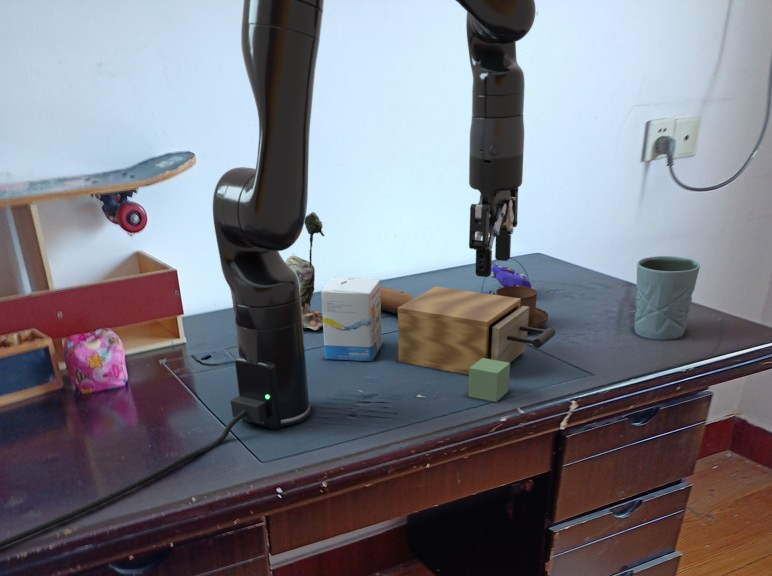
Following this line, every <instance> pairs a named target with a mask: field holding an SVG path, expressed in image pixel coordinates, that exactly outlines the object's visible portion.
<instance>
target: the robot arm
mask: <svg viewBox="0 0 772 576" xmlns="http://www.w3.org/2000/svg"><path fill="white" fill-rule="evenodd" d="M455 2H457V4H459V5H460V6H461V8H463V9H464V10H465V11H466V18H465V26H466V27H465V28H466V29H465V30H466V40H467V42H466V43H467V49H468V56H469V58H468V59H469V63H470V69H471V76H472V85H471V122H470V128H469V149H468V150H469V151H468V152H469V154H468V157H469V158H468V159H469V160H468V162H469V163H468V164H469V165H468V166H469V167H468V185H469V187H470V188H471V189H473V190H476V191H478V192H479V193H480V195H479V200H478V203H471V204H470V208H469V233H468V235H469V236H468V237H469V238H468V247H469V249H470V250H475V275H476V276H477V277H481V278H488V277H491V271H492V268H493V264H492V263H493V250H492V249H493V245H494V246H495V248H494V249H495V250H494V259H495V260H496V261H499V262H501V261H502V262H507V261H509V260H510V259H511V247H512V235H513V234H514V230H515V229H514V228H517V226H518V224H519V223H518V211H519V209H518V207H519V188H520V187H521V186H522V184H523V174H524V173H523V172H524V151H525V147H524V146H525V121H524V110H525V109H524V108H525V85H526V84H525V83H526V82H525V74H524V71H523V69H522V67H521V66H520V65H519V63H518V60H517V42H518V41H520V40H522V39H523V38H525V37H526V36H527V35H528V34H529V32H530V31H531V29H532V27H533V26H534V23H535V19H536V9H537V8H536V1H535V0H455ZM324 6H325V0H243V5H242V18H241V28H240V29H241V30H240V47H241V53H242V58H243V59H242V60H243V63H244V67H245V71H246V74H247V79H248V82H249V85H250V88H251V92H252V95H253V99H254V102H255V107H256V110H257V117H258V146H257V158H256V164H255V168H253V167H246V166H240V167H239V166H238V167H233V168H230V169H229V170H227V171H226V172H224V173H223V174H222V175H221V177H220V178H219V179H218V181H217V183H216V185H215V188H214V192H213V196H212V219H213V227H214V232H215V238H216V244H217V249H218V250H217V251H218V255H219V261H220V265H221V266H220V267H221V271H222V275H223V278H224V279H225V282H226V284H227V285H228V287H229V289H230V295H231V301H232V309H233V316H234V324H235V325H234V326H235V333H236V341H237V348H238V357H236V358H235V360H234V365H235V372H236V380H237V388H238V396H236V397H234V398H232V399H230V406H231V413H232V419H231V420H230V421H229V423H228V424H227V425H226V426H225V428H224V429H223V432H222V433H221V435H220V436H219V437H217V439H215V440H214V441H213V442H211V443H210V444H208V445H205V446H203V447H201V448H198V449H196V450H193V451H190V452H189V453H186V454H185V455H182V456H181V457H179V458H176V459H175V460H174V461H172V462H170V463H168V464H166V465H164V466H162V467H160V468H159V469H156V470H154V471H153V472H151V473H149V474H147V475H145V476H143V477H141V478H139V479H137V480H135V481H133V482H130V483H129V484H127V485H125V486H123V487H121V488H119V489H116V490H114V491H112V492H111V493H108V494H106V495H103V496H102V497H99V498H97V499H95V500H93V501H90V502H89V503H87V504H84V505H82V506H80V507H78V508H75V509H73V510H71V511H68V512H66V513H63V514H62V515H59V516H56V517H54V518H52V519H50V520H47V521H45V522H42V523H40V524H37V525H35V526H33V527H30V528H28V529H25V530H23V531H20V532H18V533H16V534H13V535H11V536H8V537H5V538H3V539H0V548H2V547H5V546H7V545H10V544H12V543H15V542H17V541H19V540H22V539H25V538H27V537H29V536H31V535H34V534H36V533H38V532H41V531H43V530H46V529H49V528H51V527H53V526H56V525H58V524H60V523H62V522H65V521H67V520H69V519H72V518H73V517H76V516H78V515H82V514H83V513H85V512H87V511H90V510H91V509H94V508H96V507H98V506H100V505H102V504H105V503H107V502H109V501H111V500H113V499H116V498H118V497H119V496H122V495H123V494H125V493H128V492H130V491H131V490H133V489H136V488H138V487H140V486H141V485H143V484H145V483H148V482H150V481H152V480H153V479H155V478H157V477H159V476H161V475H163V474H164V473H166V472H168V471H171V470H172V469H174V468H176V467H177V466H179V465H181V464H183V463H184V462H186V461H189V460H190V459H193V458H194V457H196V456H200V455H203V454H204V453H207V452H209V451H210V450H212V449H213V448H216V447H217V446H219V445H220V444H221V443H222V442H224V440H225V439H227V437H228V436H229V433H230V432H231V430H232V429H233V427H234V426H235V425H236V424H237V423H238V422H239V421H240V420H242V422H244V423H247V424H251V425H256V426H259V427H262V428H263V427H264V428H267V429H271V430H279V429H280V428H282V427H287V426H292V425H296V424H299V423H301V422H303V421H305V420H306V419H307V418H309V416H310V415H311V404H310V399H309V385H308V373H307V360H306V348H305V334H304V327H303V321H302V307H301V296H300V283H299V278H298V276H297V274H296V273H295V272H294V271H293V270H292V269H291V268H290V267H289V266H288V265H287V264H286V260H284V258H283V257H282V256H281V254H280V252H282V251H286V250H288V249H289V248H291V247H292V246H294V244H296V242H297V240H298V239H299V237H300V236H301V234H302V232H303V230H304V226H305V218H306V216H307V211H308V198H309V197H308V196H309V164H310V163H309V162H310V161H309V159H310V157H309V155H310V132H311V121H312V120H311V119H312V109H313V100H314V99H313V98H314V90H315V89H314V88H315V79H316V78H315V77H316V68H317V60H318V55H319V49H320V41H321V33H322V24H323V18H324V17H323V16H324V14H323V13H324ZM494 241H495V244H494Z"/></svg>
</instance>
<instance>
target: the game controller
mask: <svg viewBox="0 0 772 576" xmlns="http://www.w3.org/2000/svg"><path fill="white" fill-rule="evenodd" d="M510 259H511V260H513V261H515V262H516V263H518V264H519V266H521V267H522V269H523V270H524V272H525V273H519V272H516V270H514V269H513V267H510V266H504V265H502V264H499V263H495V262H496V261H497V260H496V259H495V260H494V261H492V268H491V275H490V277H491V278H494V279H496V281H497V282H498V283H499V284H500V285H501V286H502V287H508V286H523V287H529V288H532V283H531V282H530V280H529V276H528V272H527V270H526V269H525V267H524V266H523V265H522V264H521V263H520V262H519V261H518V260H516V259H514V258H512V257H510ZM483 278H484V279H483V282H482V286H481V291H483V289H484V284H485V280H486V277H483ZM491 293H492V290H488V291H487V292H486V293H485V294H491Z"/></svg>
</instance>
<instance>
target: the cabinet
mask: <svg viewBox="0 0 772 576" xmlns="http://www.w3.org/2000/svg"><path fill="white" fill-rule="evenodd" d="M520 303H521V299H520V298H513V297H506V296H499V295H496V294H491V293H490V294H486V293H485V292H477V291H471V290H465V289H464V290H462V289H456V288H449V287H442V286H433V288H431V289H428V290H427V291H425V292H423V293H421V294H419V295H418V296H416V297H414V299H413V300H411V301H409V302H407V303H405V304H404V305H402V306H400V307H398V314H397V340H398V343H397V345H398V363H403V364H409V365H414V366H420V367H424V368H430V369H436V370H439V371H445V372H450V373H456V374H460V375H466V376H469V368H470V367H471V366H472V365H474V364H475V363H476V362H478V361H479V360H480V359H482V358H485V359H488V341H489V325H491V324H492V323H494V322H495V321H496V320H498V319H499V318H501V317H502V316H504V315H505V314H506V313H508V312H509V311H511V310H512V309H513V310H512V313H513V312H515V311H516V310H517V309H519V308H520Z"/></svg>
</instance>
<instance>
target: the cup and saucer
mask: <svg viewBox="0 0 772 576" xmlns="http://www.w3.org/2000/svg"><path fill="white" fill-rule="evenodd" d="M495 295H499V296H506V297H513V298H520V299H521V303H520V307H522V306H528V307H529V318H528V327H531V328H537V329H538V328H539V327H541V326H543V325H545V324H546V323H547V321H549V320H548V319H549V314H548V312H546V311H545V310H544V309H541V308H539V307H537V299H538V291H537V289H535V288H533V287H531V288H529V287H523V286H508V287H503V286H502V287H500V288H498V289H496V290H495Z"/></svg>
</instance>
